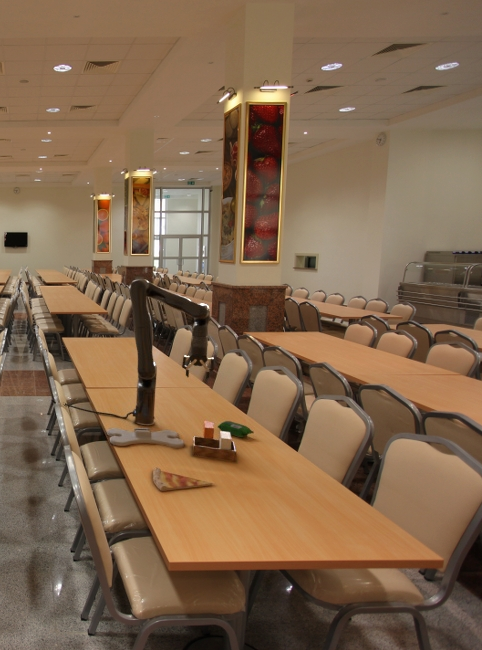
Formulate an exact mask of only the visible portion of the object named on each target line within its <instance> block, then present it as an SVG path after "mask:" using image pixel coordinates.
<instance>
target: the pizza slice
mask: <svg viewBox="0 0 482 650" xmlns="http://www.w3.org/2000/svg"><path fill="white" fill-rule="evenodd" d="M152 481H153V483H154V485H155V486H156V488H157V489H158V490H159V491H160V492H165V491H172V490H174V491H175V490H182V489H191V488H199V487H209V486H213V485H214V483H213V482H209V481H205V480H201V479H197V478H192V477H189V476H185V475H180V474H176V473H171V472H168V471H164V470H161V468H159V467H155V468H153V472H152Z"/></svg>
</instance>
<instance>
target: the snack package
mask: <svg viewBox="0 0 482 650" xmlns="http://www.w3.org/2000/svg"><path fill="white" fill-rule="evenodd" d="M217 428H218V429H219V430H220V431H224V432H230V435H231V436H234V437H237V438H244V437H247V436H249V435H251V434H254V433H255V432H254V430H252V429H251V428H250V427H248V426H247V425H244V424H241V423H238V422H235V421H231V420H225V421H223V422H221V423H219V424H218V425H217Z"/></svg>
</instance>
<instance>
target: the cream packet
mask: <svg viewBox="0 0 482 650" xmlns="http://www.w3.org/2000/svg"><path fill="white" fill-rule="evenodd" d="M219 439H220V441H219V449H226V450H231V441H232V435H231V434H230V432H224V431H221V430H220V431H219Z"/></svg>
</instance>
